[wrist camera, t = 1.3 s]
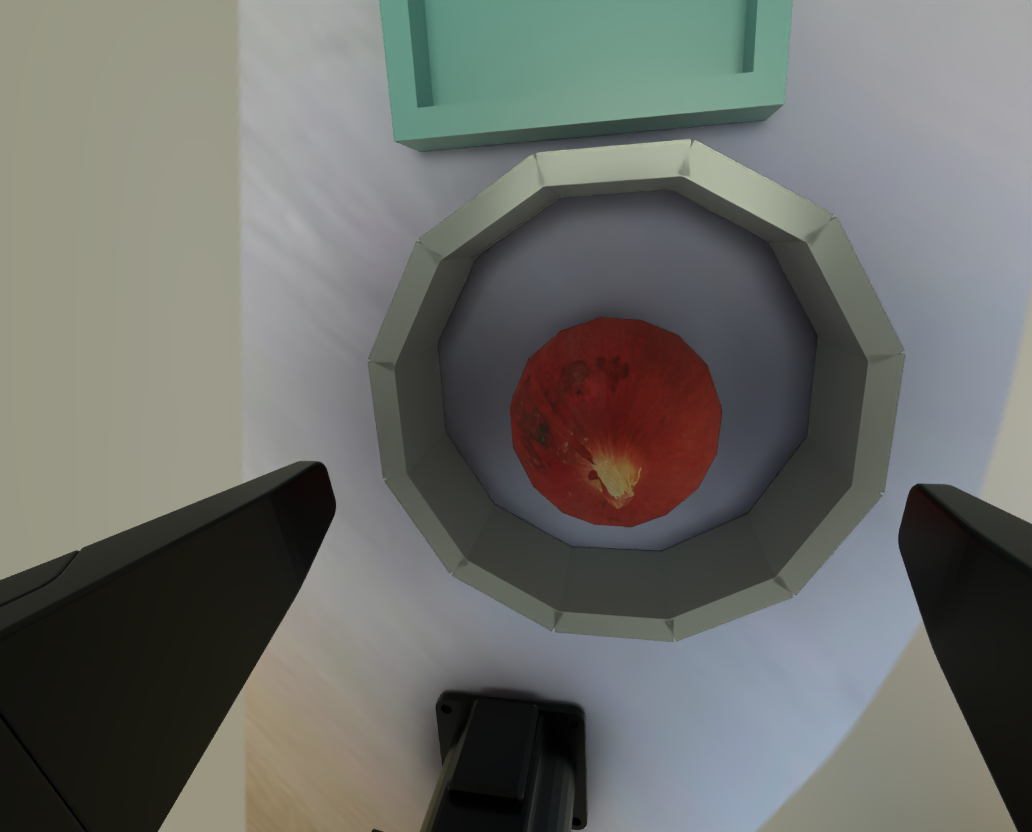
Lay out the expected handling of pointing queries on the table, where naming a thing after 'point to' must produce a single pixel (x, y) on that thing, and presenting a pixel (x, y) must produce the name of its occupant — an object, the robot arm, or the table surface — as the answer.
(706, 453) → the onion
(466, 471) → the ring
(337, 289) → the table surface
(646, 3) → the tray
